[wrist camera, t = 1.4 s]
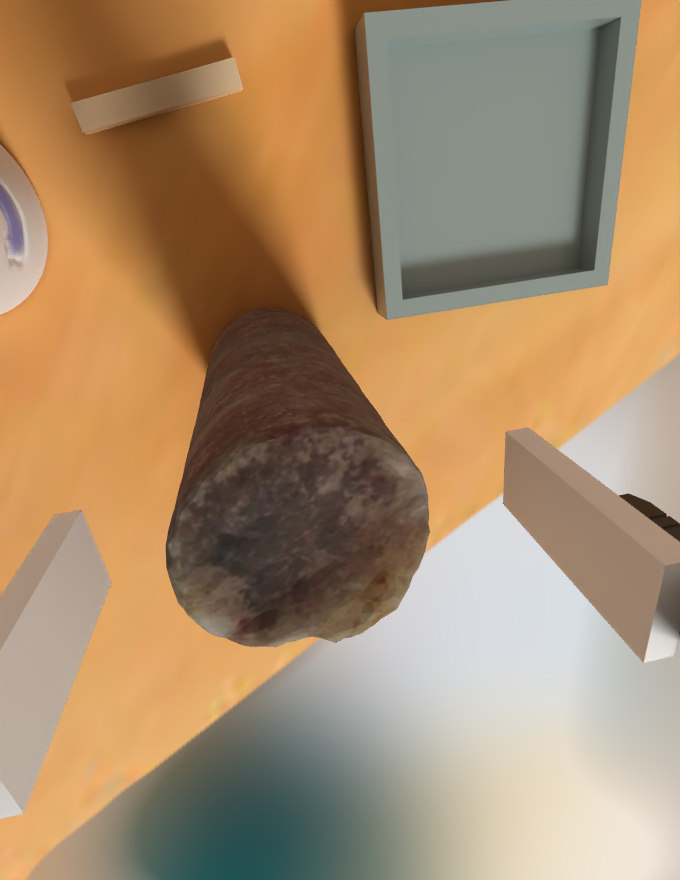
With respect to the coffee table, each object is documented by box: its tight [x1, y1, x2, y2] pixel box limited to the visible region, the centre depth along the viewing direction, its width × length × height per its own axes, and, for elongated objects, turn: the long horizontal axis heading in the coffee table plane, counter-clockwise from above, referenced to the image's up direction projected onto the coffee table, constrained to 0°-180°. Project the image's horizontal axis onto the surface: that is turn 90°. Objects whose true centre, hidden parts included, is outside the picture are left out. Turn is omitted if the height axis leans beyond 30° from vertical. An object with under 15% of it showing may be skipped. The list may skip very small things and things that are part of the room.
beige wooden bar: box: [70, 57, 243, 135], centre depth 24 cm, size 8×1×1 cm, turn 104°
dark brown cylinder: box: [166, 308, 430, 647], centre depth 21 cm, size 8×7×20 cm
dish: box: [354, 0, 641, 320], centre depth 27 cm, size 14×14×2 cm
